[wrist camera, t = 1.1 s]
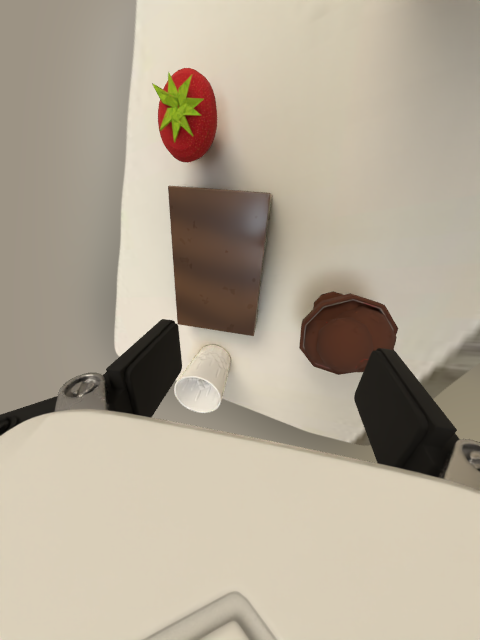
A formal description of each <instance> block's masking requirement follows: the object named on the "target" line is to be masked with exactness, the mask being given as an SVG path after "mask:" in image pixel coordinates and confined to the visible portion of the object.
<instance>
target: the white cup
mask: <svg viewBox="0 0 480 640" xmlns="http://www.w3.org/2000/svg"><path fill="white" fill-rule="evenodd" d="M230 362H231V359H230V356H229V354H228V352H227V351H226V350H225V349H223V348H222V347H219V346H217V345H207V346H205V347H202V349H201V350H200V351H199V353H198V354H197V355H196V356H195V357H194V359H193V360H192V361H191V363H190V364H189V365H188V367H187V368H186V370H185V371H184V372H183V374H182V375H181V377H180V378H179V379H178V381H177V383H176V384H175V387H174V392H175V396H176V398H177V399H178V401H179V402H180V403H181V404H182V405H183V406H185V407H186V408H188V409H190V410H192V411H195V412H200V413H209V412H212V411H214V410H216V409H217V408H218V407H219V405H220V403H221V399H222V396H223V392H224V389H225V385H226V381H227V377H228V373H229V367H230Z"/></svg>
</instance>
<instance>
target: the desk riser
mask: <svg viewBox="0 0 480 640" xmlns="http://www.w3.org/2000/svg"><path fill="white" fill-rule="evenodd" d="M168 191H169V205H170V219H171V234H172V248H173V262H174V277H175V291H176V306H177V320H178V324H180V325H187V326H193V327H200V328H206V329H212V330H219V331H225V332H231V333H238V334H244V335H251V336H254V332H255V328H256V323H257V315H258V310H257V308H258V300H259V291H260V283H261V275H262V267H263V258H264V250H265V242H266V233H267V225H268V220H269V217H270V209H271V201H272V195H271V193H263V192H249V191H235V190H221V189H207V188H193V187H179V186H168Z"/></svg>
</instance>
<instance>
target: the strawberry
mask: <svg viewBox="0 0 480 640" xmlns="http://www.w3.org/2000/svg"><path fill="white" fill-rule="evenodd" d="M152 84H153V83H152ZM153 86H154V88H155V90H156V92H157V94H158V96H159V98H160V102H159V109H158V124H159V131H160V135H161V138H162V141H163V143H164V145H165V147H166V148H167V149H168V151H169V152H170V153H171V154H172V155H173V157H174V158H176V159H177V160H179V161H182V162H191V161H194V160H197V159H199V158H201V157H202V156H203V155H204V154H205V153H206V152H207V151H208V150H209V148H210V146H211V144H212V142H213V140H214V137H215V133H216V128H217V109H216V101H215V96H214V93H213V90H212V87H211V85H210V83H209V82H208V81H207V79H206V78H205V77H204V76H203V75H202V74H200V73H199V72H197V71H196V70H194V69H191V68H183V69H181V70H178V71H177V72H175V73H174V74H173V75H172V76H170V73H168V81H167V83H166V85H165V87H164V89H161V88H159V87H158V86H156V85H154V84H153Z"/></svg>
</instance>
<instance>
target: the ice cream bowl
mask: <svg viewBox="0 0 480 640" xmlns="http://www.w3.org/2000/svg"><path fill="white" fill-rule="evenodd" d="M397 330H398V327H397V326H396V324H395V322H394V321H393V319H392V317H391V315H390V314H389V312H388V310H387V308H386V307H385V305H383V304H381V303H378V302H375V301H372V300H369V299H366V298H363V297H360V296H357V295H353V294H346V295H342V294H339V293H336V292H330V293H326V294H322V295H321V296H320V297H319V298H318V299H317V300H316V301H315V302H314V308H313V310H312V311H311V312H310V313H309V314H308V315H307V316H306V317H305V318H304V319H303V321H302V326H301V337H300V347H299V348H300V349H301V350H302V352H303V353H304V354H305V356H306V357H307V358H308V360H309V361H310V362H311V364H312V365H313V366H314V367H317V368H320V369H323V370H326V371H329V372H332V373H335V374H338V375H339V374H346V373H352V372H364V370H365V367H366V365H367V362H368V360H369V357H370V355H371V353H372V351H376V350H377V349H378V348H383V349H391V350H394V346H395V342H396V333H397Z"/></svg>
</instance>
